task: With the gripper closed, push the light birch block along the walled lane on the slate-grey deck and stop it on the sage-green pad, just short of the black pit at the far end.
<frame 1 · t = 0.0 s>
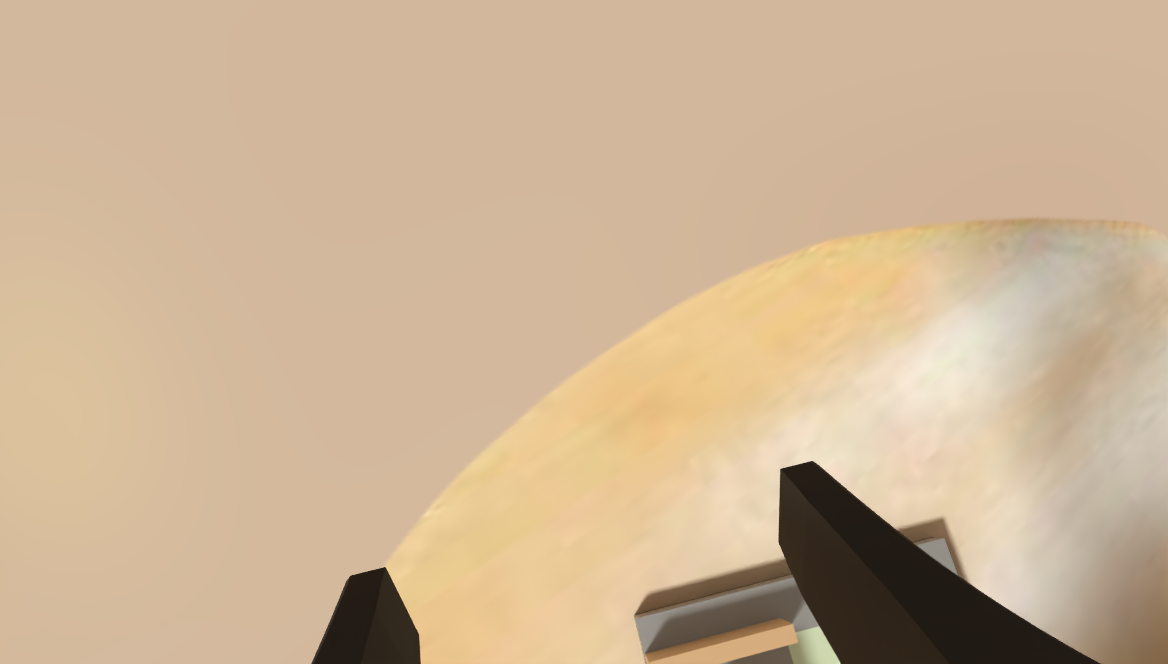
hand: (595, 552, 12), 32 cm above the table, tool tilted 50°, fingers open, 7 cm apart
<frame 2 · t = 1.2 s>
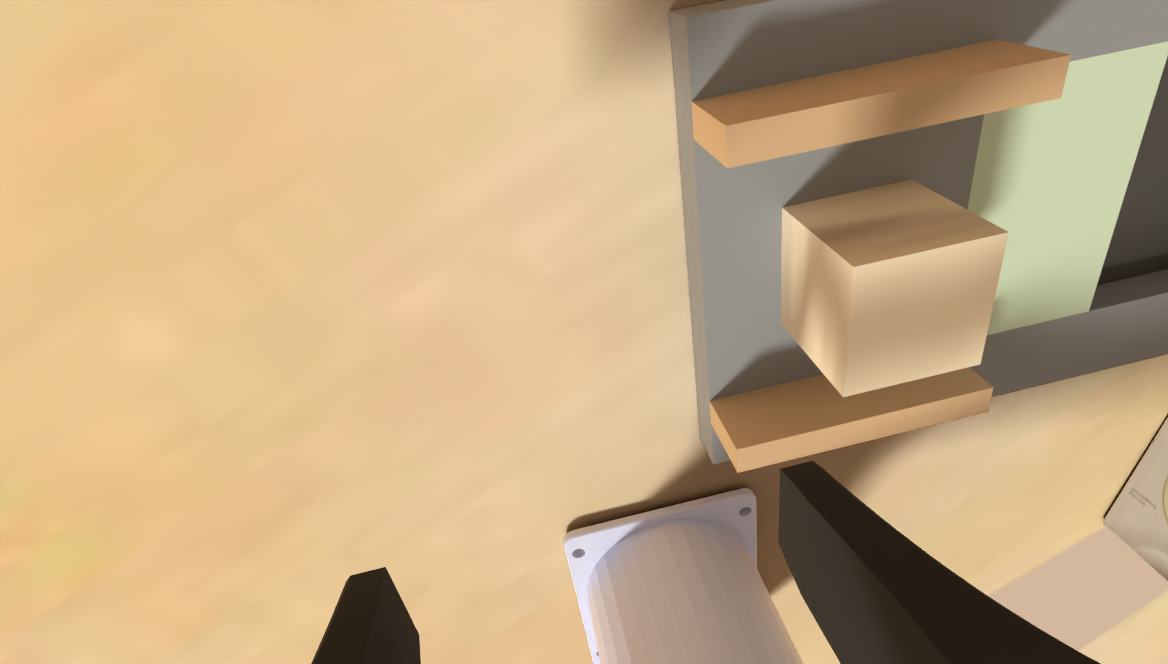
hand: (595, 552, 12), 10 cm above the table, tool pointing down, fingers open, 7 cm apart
birch block: (843, 254, 20), point 1 cm above the table, touching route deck
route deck: (976, 200, 22), on the table
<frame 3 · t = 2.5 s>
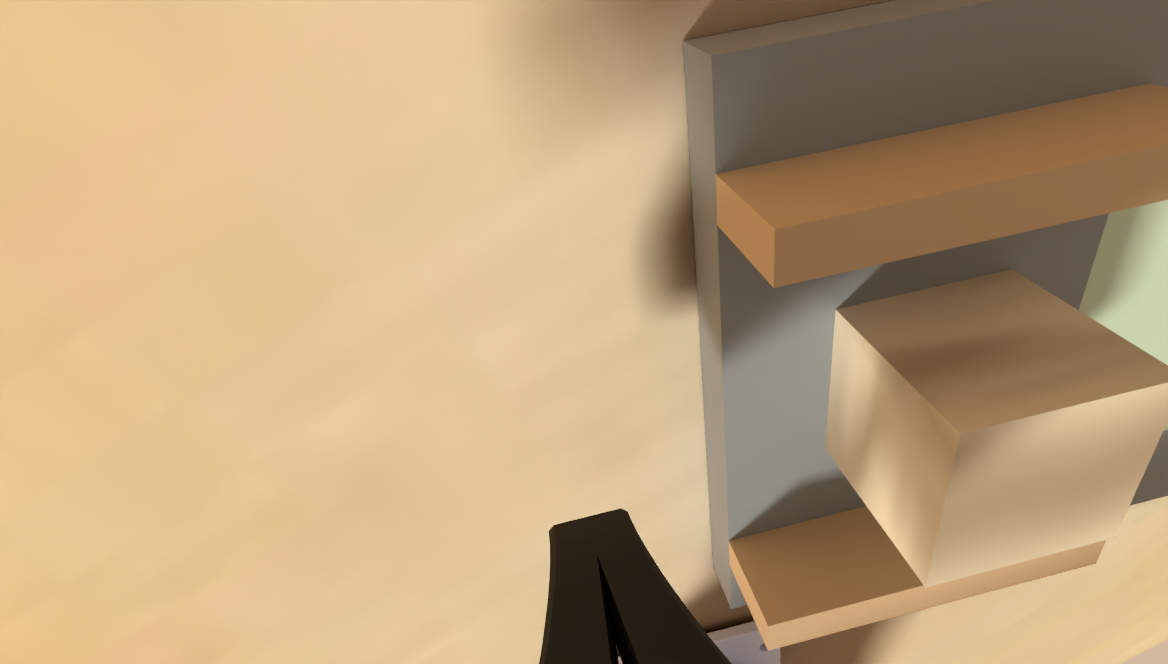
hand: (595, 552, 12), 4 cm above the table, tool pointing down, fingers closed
birch block: (912, 364, 15), point 1 cm above the table, touching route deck
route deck: (1080, 283, 17), on the table
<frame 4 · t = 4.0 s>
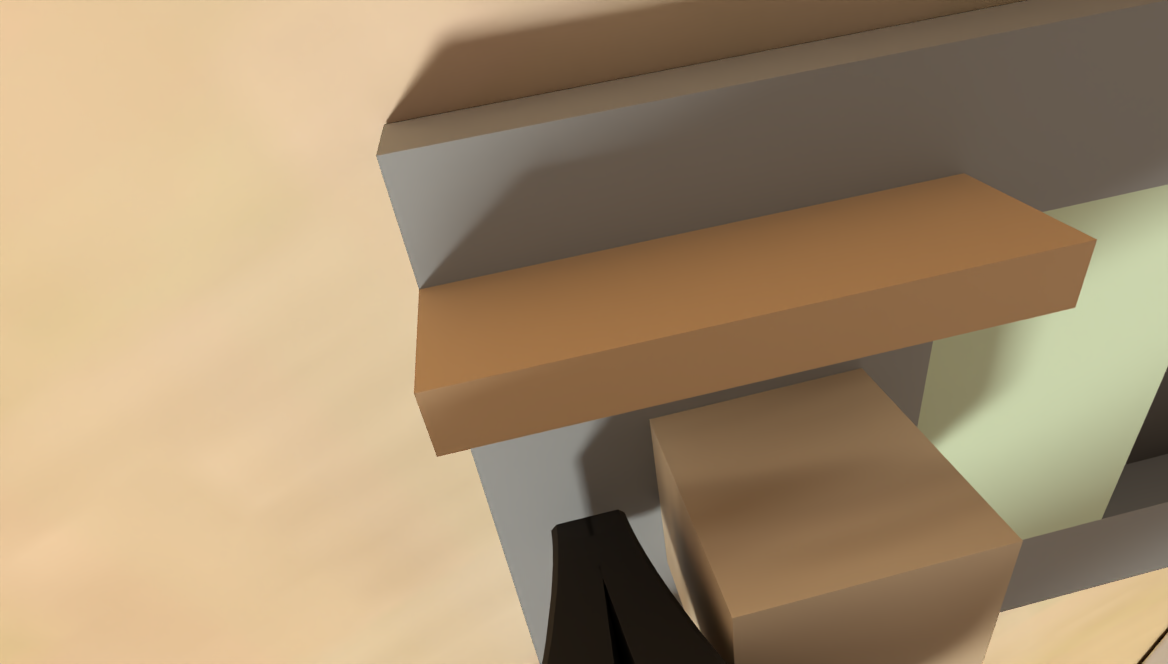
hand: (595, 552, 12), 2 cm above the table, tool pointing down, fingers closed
birch block: (757, 472, 13), point 2 cm above the table, touching gripper
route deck: (938, 375, 15), on the table
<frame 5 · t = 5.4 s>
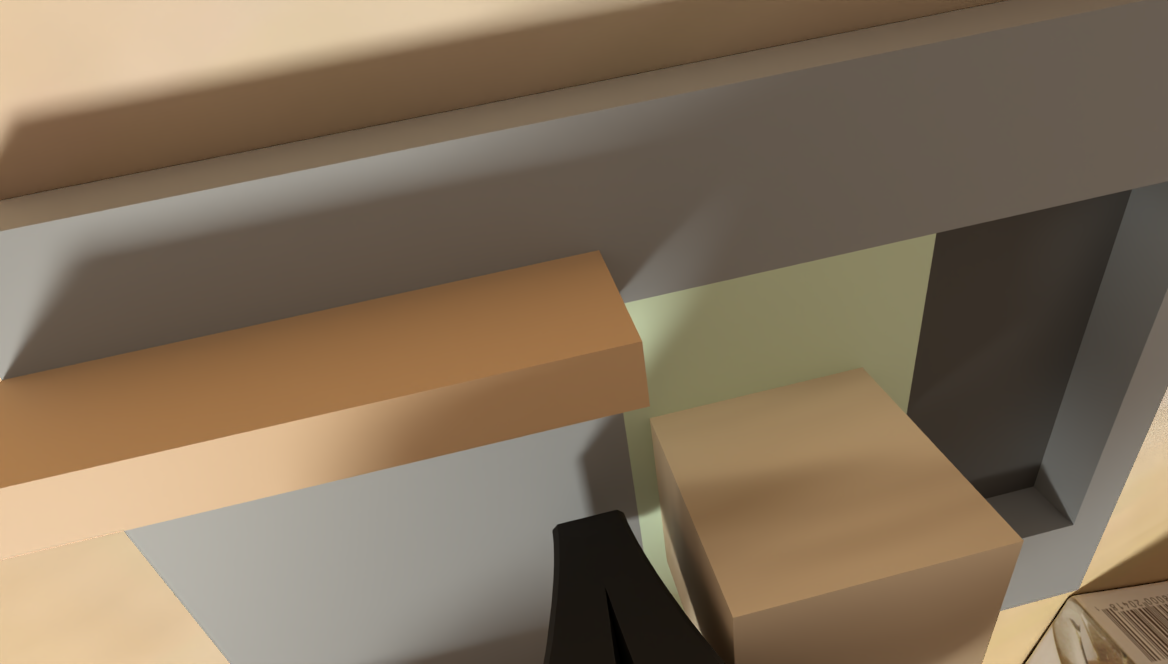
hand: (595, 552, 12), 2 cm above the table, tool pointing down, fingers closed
coffee box: (1082, 655, 24), on the table
birch block: (757, 471, 13), point 1 cm above the table, touching gripper, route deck
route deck: (686, 434, 14), on the table
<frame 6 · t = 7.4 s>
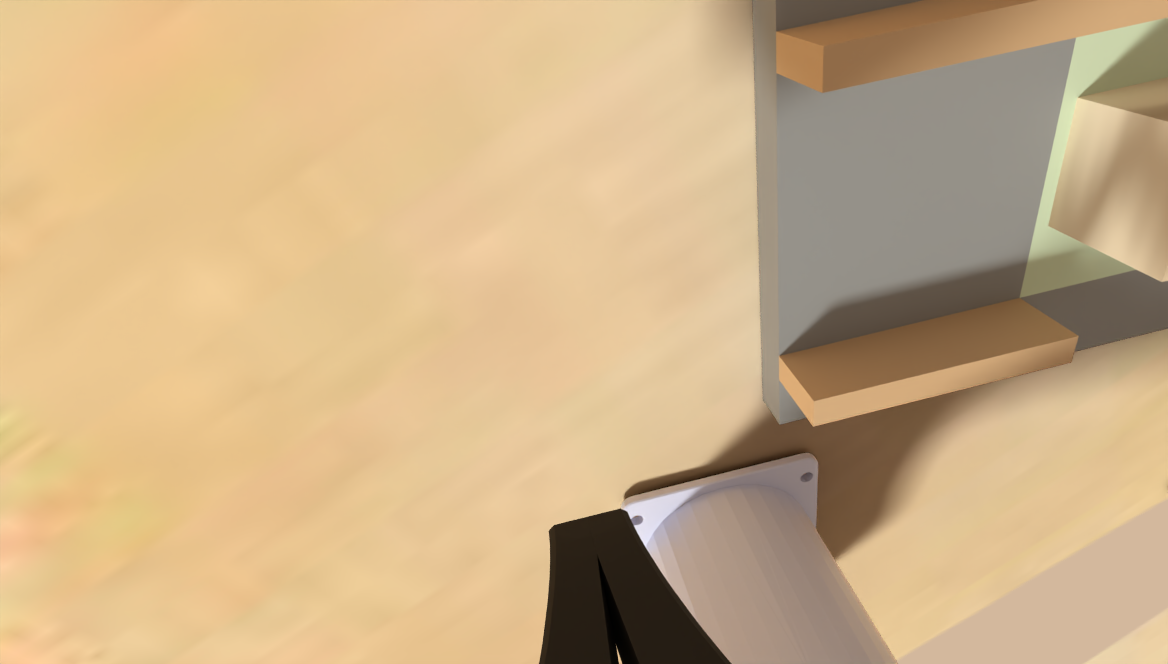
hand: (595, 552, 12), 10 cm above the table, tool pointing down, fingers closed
birch block: (1123, 150, 20), point 1 cm above the table, touching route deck
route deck: (1055, 145, 21), on the table
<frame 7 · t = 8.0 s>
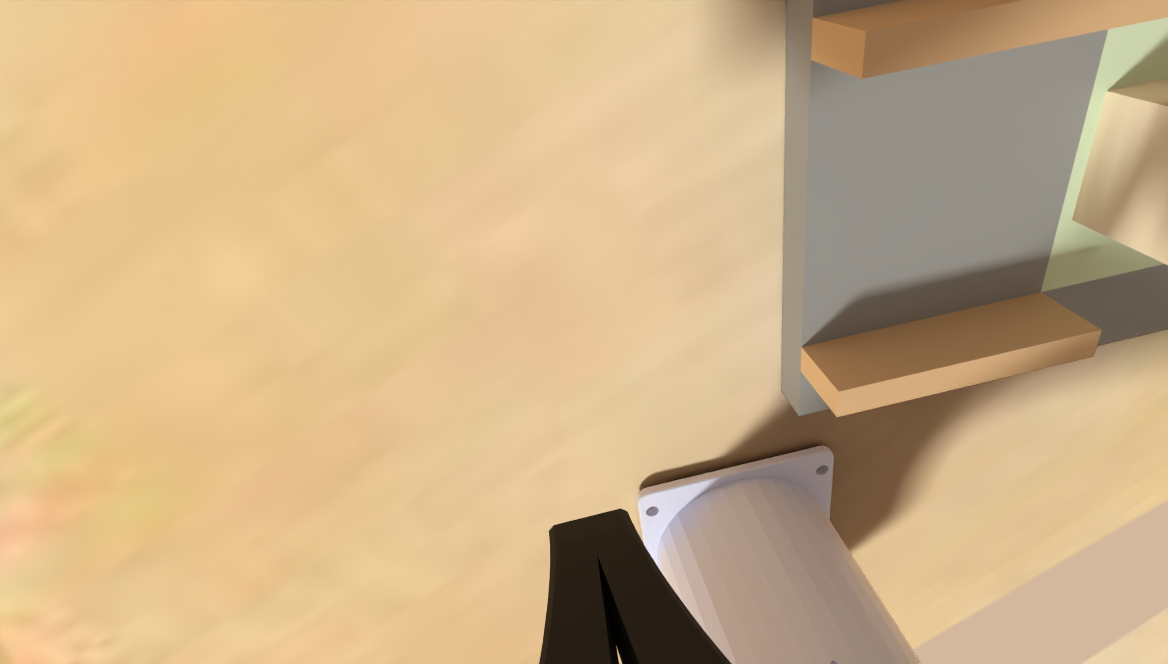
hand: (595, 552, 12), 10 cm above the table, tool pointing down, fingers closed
birch block: (1149, 145, 20), point 1 cm above the table, touching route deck
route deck: (1080, 140, 21), on the table
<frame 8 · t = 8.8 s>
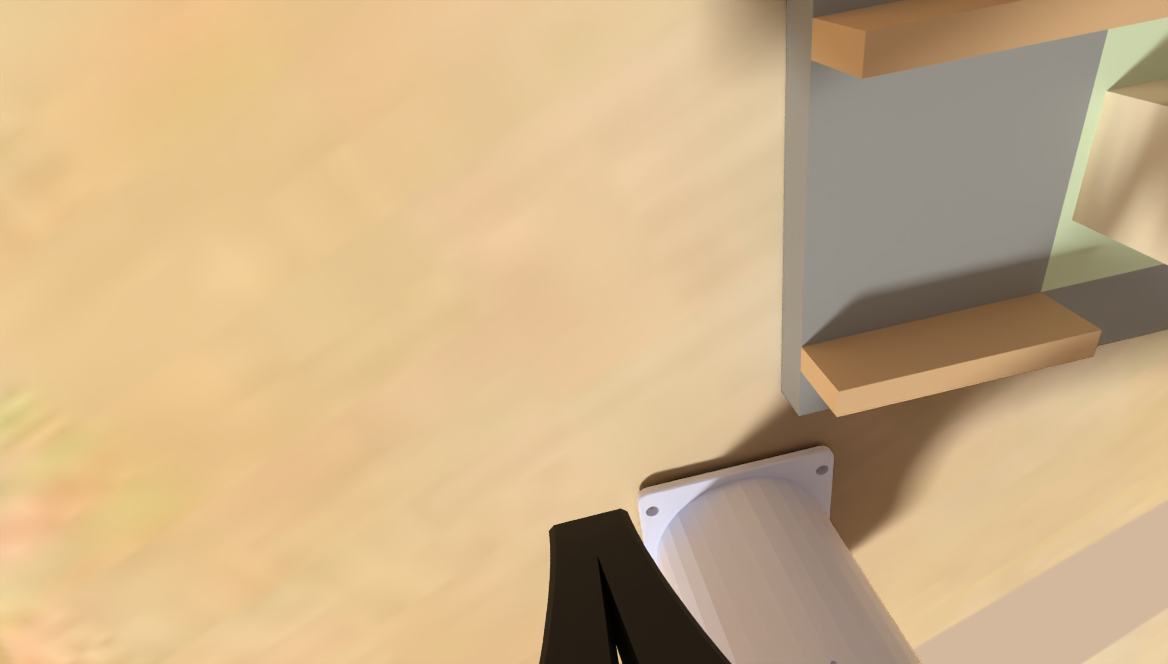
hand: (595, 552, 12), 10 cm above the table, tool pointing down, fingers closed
birch block: (1149, 145, 20), point 1 cm above the table, touching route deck
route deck: (1080, 140, 21), on the table
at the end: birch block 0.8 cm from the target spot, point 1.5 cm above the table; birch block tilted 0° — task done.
